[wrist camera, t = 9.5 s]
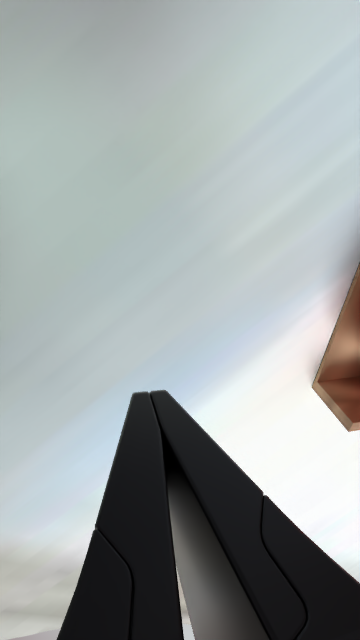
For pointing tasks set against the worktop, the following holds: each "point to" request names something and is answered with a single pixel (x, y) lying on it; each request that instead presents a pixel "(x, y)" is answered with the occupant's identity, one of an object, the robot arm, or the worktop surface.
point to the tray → (343, 363)
